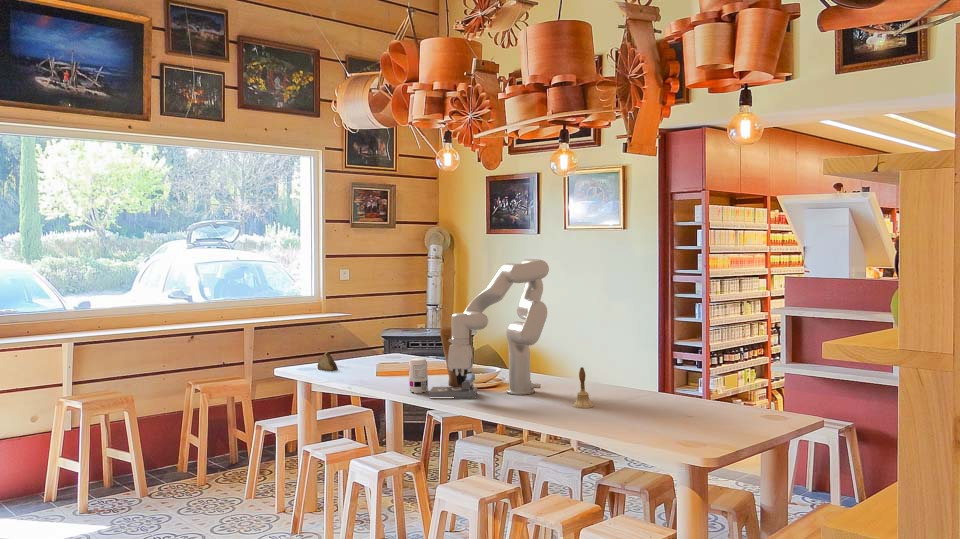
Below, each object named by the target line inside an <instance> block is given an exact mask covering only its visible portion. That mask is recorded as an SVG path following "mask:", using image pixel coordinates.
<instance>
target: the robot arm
mask: <svg viewBox="0 0 960 539" xmlns="http://www.w3.org/2000/svg"><path fill="white" fill-rule="evenodd" d="M549 272H550V267H549V264H548V262H546V261H545V260H543V259H533V258H526V259H523V260H521V262H520V263H515V262H513V263H512V262H508V263H504V264H503V265H501V267H500V268H499V269H498V271H497V272H496V273H495V275H494V277H492V279H491V281H490V282H489V284H488V285H487V286H486V287H485V289H484V290H483V291H482V292H480V293H478V295H477V296H475V297H474V298H473V299H471V301H470V303H469V304H468V305H467V307H466V308H465V310H464V312H455V313H453V314H452V315H451V328H452V338H451V339H449V342H451V344H452V345H450V347H449V353H448V367H449V370H450V371H453V372H454V373H455V374H456V376H457V383H458V385H462V382H464V381H465V374H466V373H467V372H471V371H472V372H473V371H474V369H473V368H474V367H473V365H474V358H473V349H472V350H471V345H469V329H470V330H474V331H475V330H476V331H477V330H478V331H481V330H484V329H485V328H486V327H488V325H489V318H488V316H487V315H486V314H485V313H483V312H484V311H485V310H487V308H489V307H490V306H492V305H495V304H497V303H499V302H500V301H502V300H504V297H505V296H506V295H507V293H508V291H509V290H510V288H512V286H513V284H523V283H524V286H523V287H524V288H523V289H522V290H523V291H522V294H521V297H520V300H519V303H518V304H517V305H518V306H517V308H516V315H517V316H518V318H520V319H522V320H524V322H523V321H513V322H511V323H510V324H509V325H508V326H507V328H506V335H505V336H506V342H507V346H508V348H507V349H508V383H509V384H508V385H509V387H508V388H506V389H505V393H506V394H509V395H515V396H518V395H519V396H522V395H523V396H524V395H530V394H533V393H534V392H535V389H541V388H542V386H541V385H542V384H541V383H533V382H532V380H531V350H530V347H531V346H533V345H535V344H537V342H538V341H539V340H540V337H541V335H542V332H543V329H544V326H545V324H546V321H547V317H548V307H547V306H546V304H545V303H544V302H543V301H541V300H542V295H543V292H544V284H543V280H542V279H544V278H546V277H547V276H548V274H549ZM460 369H462V370H461V373H460Z"/></svg>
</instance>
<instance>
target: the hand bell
mask: <svg viewBox="0 0 960 539" xmlns="http://www.w3.org/2000/svg"><path fill="white" fill-rule="evenodd" d="M578 378H579V381H580V382H579V383H580V391H579V392H577V396H576V401H575V402H574V403H573V404H572V407H573V408H576V409H590V408H593V407H594V403H592V401H591V400H590V395H589V392H587V391H586V389H585V381H586V371H585V368H584V367H582V366H581V367H580V369H579V372H578Z"/></svg>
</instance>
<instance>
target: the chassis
mask: <svg viewBox="0 0 960 539" xmlns="http://www.w3.org/2000/svg"><path fill="white" fill-rule="evenodd" d="M428 391H429V392H428V393H429V394H428V397H454V398H475V397H477V396H478V386H474V381H472V383H471V385H470V389H462V387H453V386H432V387H431V389H430V390H428ZM475 399H476V398H475Z"/></svg>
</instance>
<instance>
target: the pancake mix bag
mask: <svg viewBox="0 0 960 539" xmlns="http://www.w3.org/2000/svg"><path fill="white" fill-rule="evenodd" d="M472 334H473V329H469V345H471V350H472V351H473V343H472V342H473V340H472V336H473V335H472ZM439 335H440V339H441V344H442V348H443V349H442V350H443V352H444V354H443V355H444V358H445V364H446V369H447V374H448V387H462V385H458V383H457V376H456V374H455V373H454V372H453V371H450V370H449V367H448V353H449V347H450V345H452V344H451V342H449V339H451V338H452V327H445V326H441V328H440V329H439ZM461 370H462V369H460V373H461ZM467 374H473V371H471V372H467V373H466V374H465V379H466V378H467Z"/></svg>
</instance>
